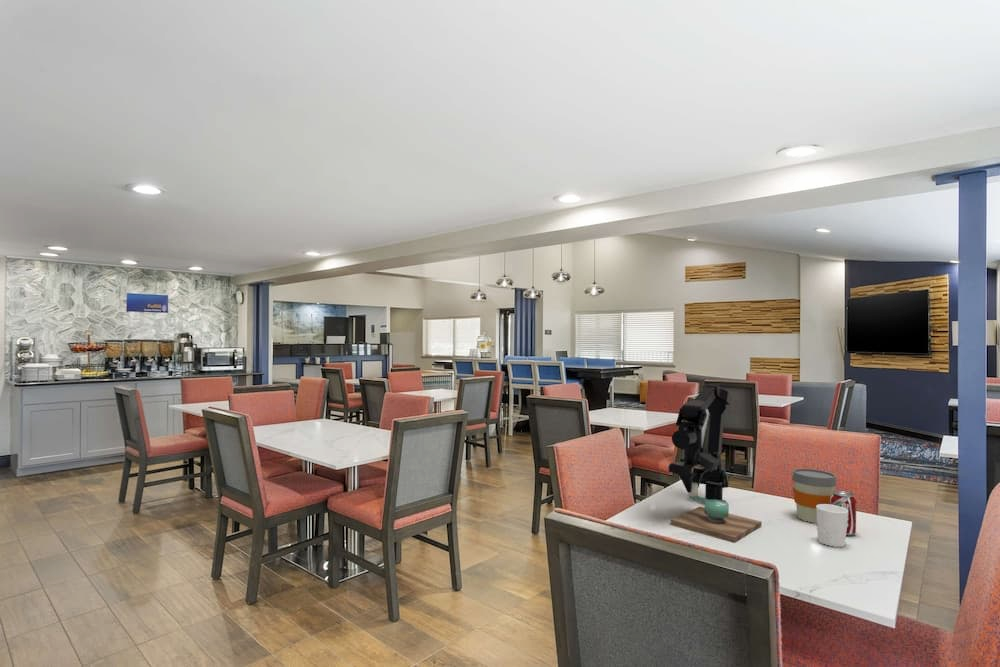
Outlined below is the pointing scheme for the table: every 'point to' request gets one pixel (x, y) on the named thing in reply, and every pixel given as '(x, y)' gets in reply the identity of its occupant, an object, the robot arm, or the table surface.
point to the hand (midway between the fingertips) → (692, 491)
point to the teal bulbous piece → (710, 504)
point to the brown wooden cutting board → (717, 524)
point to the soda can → (848, 503)
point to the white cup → (831, 524)
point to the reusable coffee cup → (812, 491)
